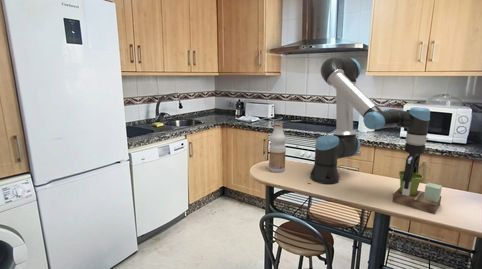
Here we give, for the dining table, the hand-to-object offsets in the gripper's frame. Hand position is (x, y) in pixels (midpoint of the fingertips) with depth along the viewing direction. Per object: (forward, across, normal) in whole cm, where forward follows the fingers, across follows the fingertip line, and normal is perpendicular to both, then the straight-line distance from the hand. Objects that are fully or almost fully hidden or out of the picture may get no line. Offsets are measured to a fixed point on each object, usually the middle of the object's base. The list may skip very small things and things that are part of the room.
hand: (408, 192), depth 127 cm
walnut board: (+4, 0, -4) cm, 6 cm away
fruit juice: (+5, -8, +67) cm, 68 cm away
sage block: (0, 0, -9) cm, 9 cm away
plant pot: (0, 0, 0) cm, 0 cm away
